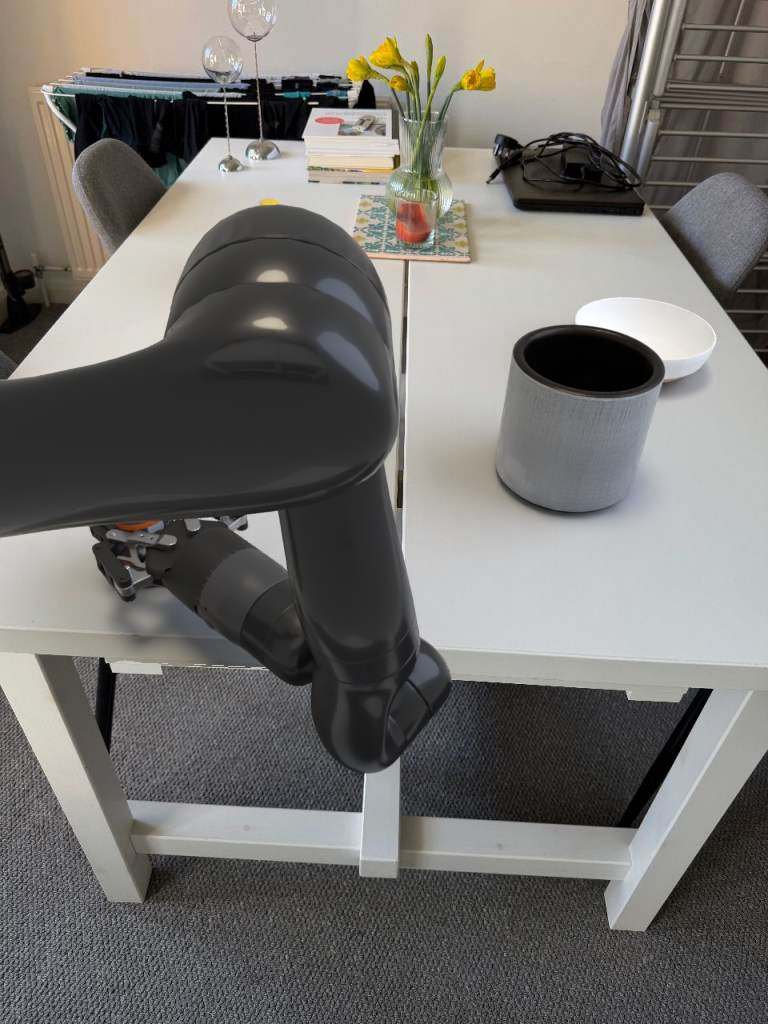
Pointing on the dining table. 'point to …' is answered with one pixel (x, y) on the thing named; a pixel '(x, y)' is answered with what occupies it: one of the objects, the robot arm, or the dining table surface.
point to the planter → (576, 416)
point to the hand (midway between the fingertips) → (124, 503)
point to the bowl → (655, 330)
